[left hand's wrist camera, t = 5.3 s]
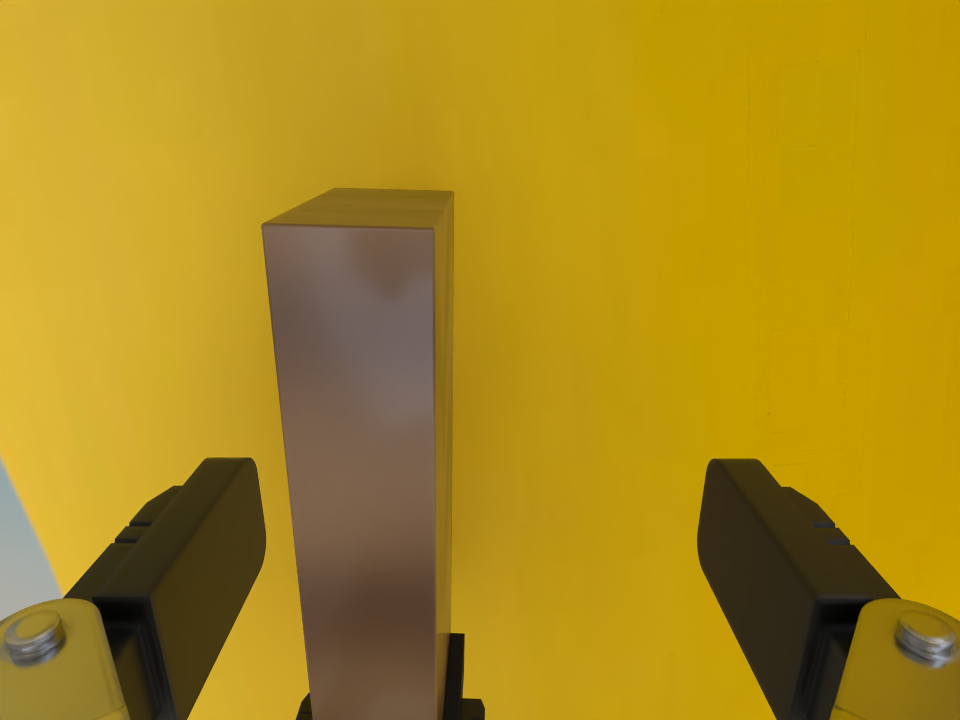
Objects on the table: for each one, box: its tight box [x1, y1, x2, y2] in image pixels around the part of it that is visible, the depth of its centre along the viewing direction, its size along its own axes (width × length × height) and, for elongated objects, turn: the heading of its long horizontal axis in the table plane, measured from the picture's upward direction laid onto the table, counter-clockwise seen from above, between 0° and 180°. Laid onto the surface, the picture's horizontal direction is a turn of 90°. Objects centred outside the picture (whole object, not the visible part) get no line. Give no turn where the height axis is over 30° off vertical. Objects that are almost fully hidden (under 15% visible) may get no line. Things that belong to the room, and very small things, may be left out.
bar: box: [261, 188, 454, 720], centre depth 27 cm, size 27×5×8 cm, turn 179°
